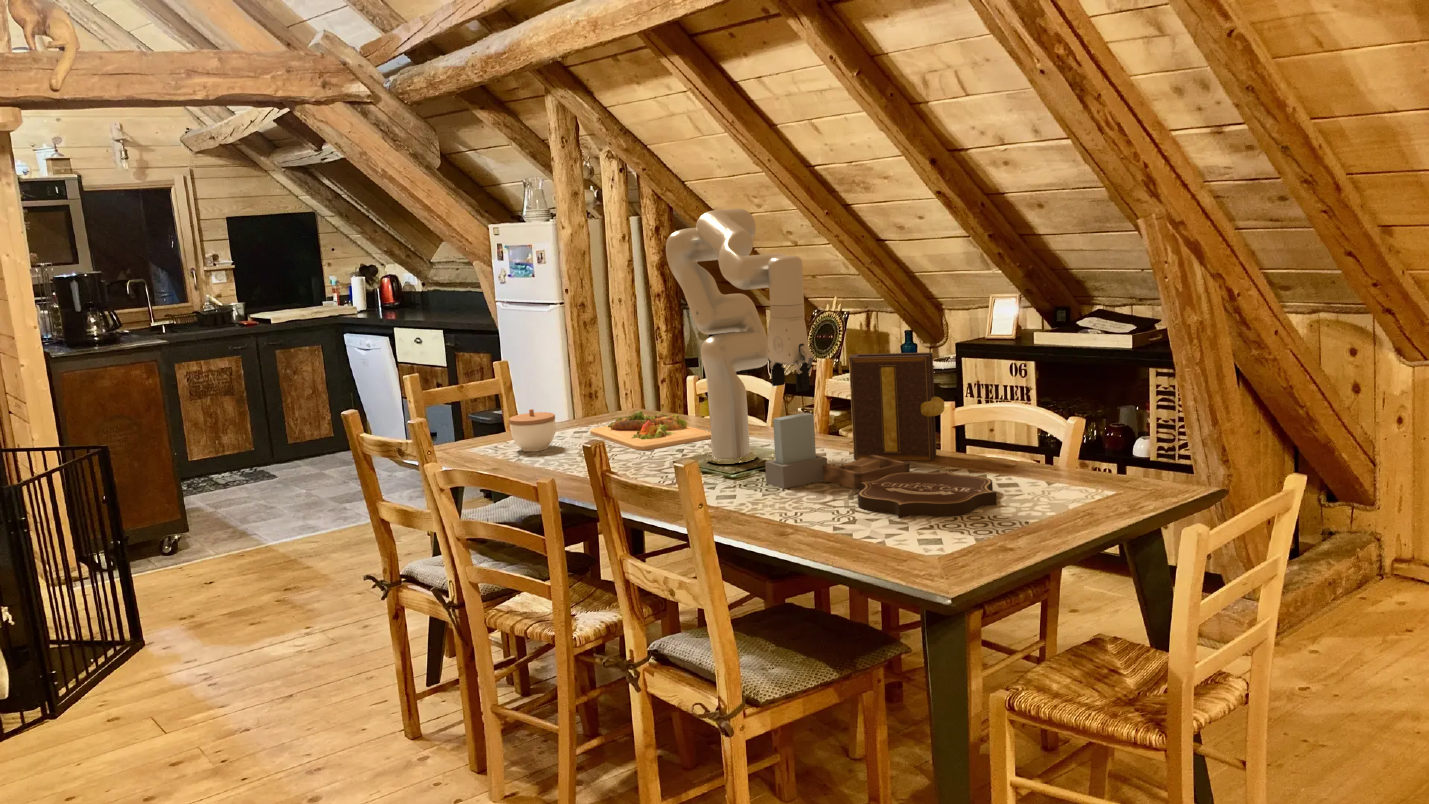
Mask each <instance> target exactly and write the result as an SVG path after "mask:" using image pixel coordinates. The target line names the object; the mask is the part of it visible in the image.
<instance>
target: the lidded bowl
mask: <svg viewBox="0 0 1429 804" xmlns="http://www.w3.org/2000/svg"><path fill="white" fill-rule="evenodd" d="M508 422H509V429H510V433H511V437H512V440H513V442H514V443H515V445H517V446H518V447H519V448H520V449H521V450H522V452H537V451H538V452H539V451H544V450H547V449H548V448H549V446H550V445H551V443H552V442H553V441H554V438H555V434H556V414H555V413H553V412H547V411H546V412H543V411H541V412H535V410H534V409H529V410H528V412H527V413H522V414H517V415H513V416H510V417H509V418H508Z"/></svg>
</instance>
